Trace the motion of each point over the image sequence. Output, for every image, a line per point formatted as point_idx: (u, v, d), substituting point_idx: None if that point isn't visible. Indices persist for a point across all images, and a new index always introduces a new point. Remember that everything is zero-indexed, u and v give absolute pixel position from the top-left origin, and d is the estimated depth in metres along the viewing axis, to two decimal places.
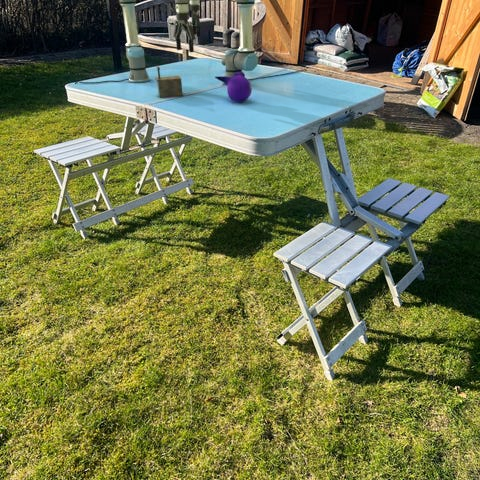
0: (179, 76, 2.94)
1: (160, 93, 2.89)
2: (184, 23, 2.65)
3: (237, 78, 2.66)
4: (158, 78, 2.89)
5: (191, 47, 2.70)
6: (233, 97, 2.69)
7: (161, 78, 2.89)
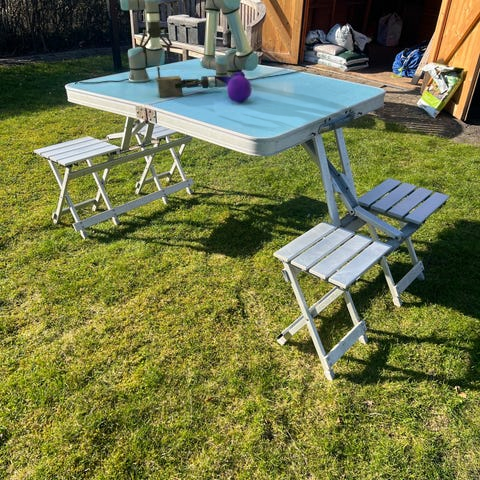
0: (179, 76, 2.94)
1: (160, 93, 2.89)
2: None
3: (237, 78, 2.66)
4: (158, 78, 2.89)
5: None
6: (233, 97, 2.69)
7: (161, 78, 2.89)
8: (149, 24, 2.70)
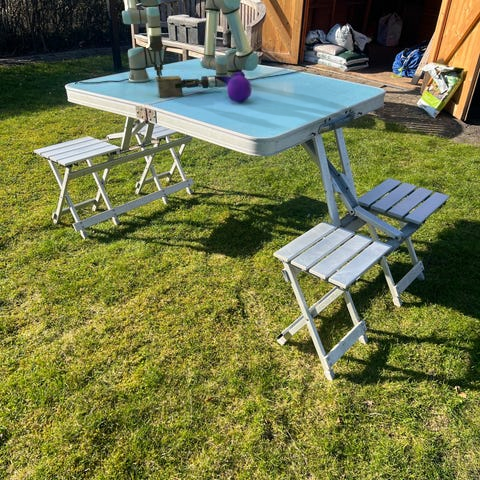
0: (179, 76, 2.94)
1: (160, 93, 2.89)
2: None
3: (237, 78, 2.66)
4: (158, 77, 2.89)
5: None
6: (233, 97, 2.69)
7: (161, 77, 2.89)
8: (151, 38, 2.74)
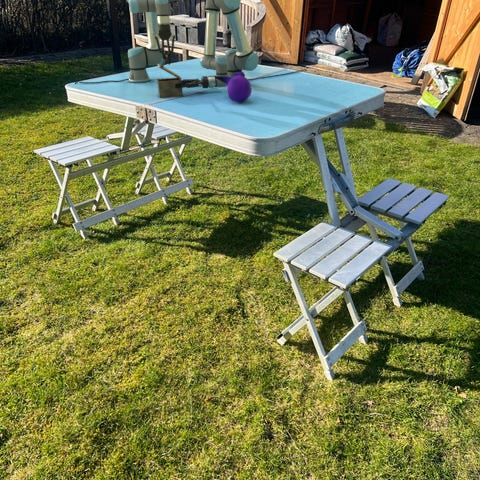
0: None
1: (160, 93, 2.89)
2: None
3: (237, 78, 2.66)
4: (161, 65, 2.86)
5: None
6: (233, 97, 2.69)
7: (163, 67, 2.86)
8: (159, 26, 2.72)
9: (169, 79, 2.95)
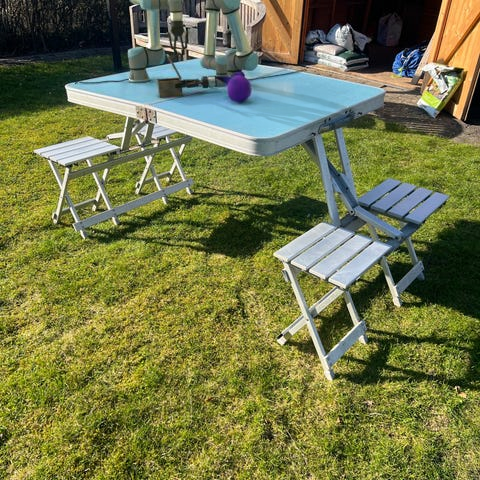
0: None
1: (160, 93, 2.89)
2: None
3: (237, 78, 2.66)
4: (169, 57, 2.85)
5: None
6: (233, 97, 2.69)
7: None
8: (172, 23, 2.73)
9: (169, 79, 2.95)
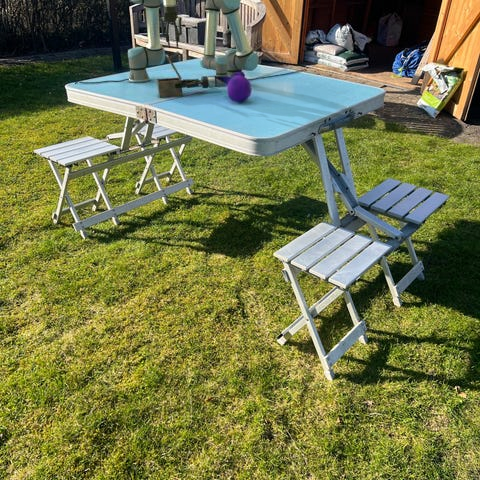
0: None
1: (160, 93, 2.89)
2: None
3: (237, 78, 2.66)
4: (169, 57, 2.85)
5: None
6: (233, 97, 2.69)
7: (170, 60, 2.85)
8: (165, 9, 2.69)
9: (169, 79, 2.95)
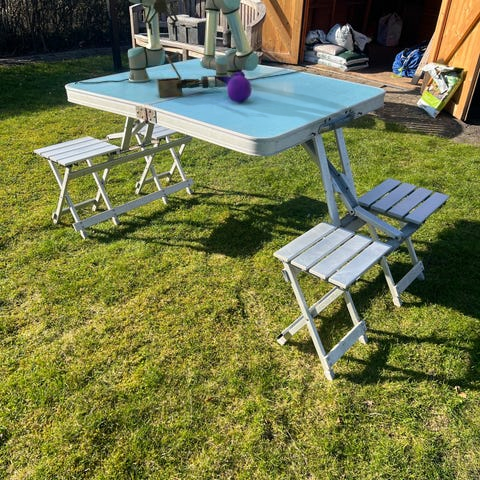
0: None
1: (160, 93, 2.89)
2: None
3: (237, 78, 2.66)
4: (168, 57, 2.85)
5: None
6: (233, 97, 2.69)
7: None
8: None
9: (169, 79, 2.95)
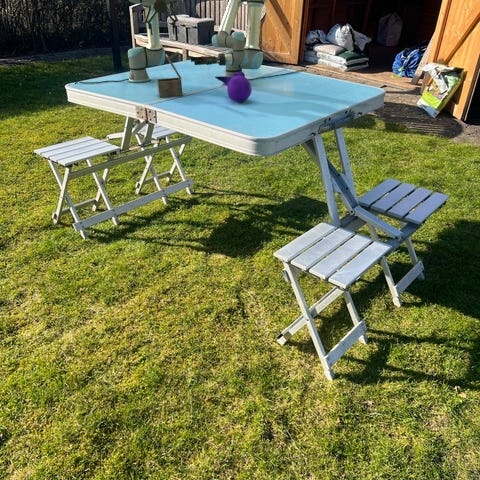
0: None
1: (160, 93, 2.89)
2: None
3: (237, 78, 2.66)
4: (168, 57, 2.85)
5: None
6: (233, 97, 2.69)
7: None
8: None
9: (169, 79, 2.95)
